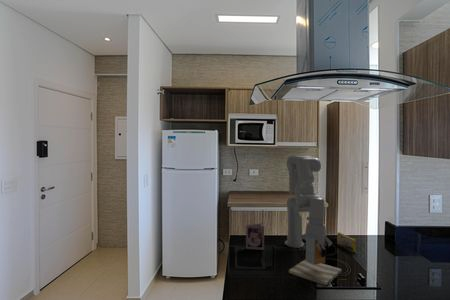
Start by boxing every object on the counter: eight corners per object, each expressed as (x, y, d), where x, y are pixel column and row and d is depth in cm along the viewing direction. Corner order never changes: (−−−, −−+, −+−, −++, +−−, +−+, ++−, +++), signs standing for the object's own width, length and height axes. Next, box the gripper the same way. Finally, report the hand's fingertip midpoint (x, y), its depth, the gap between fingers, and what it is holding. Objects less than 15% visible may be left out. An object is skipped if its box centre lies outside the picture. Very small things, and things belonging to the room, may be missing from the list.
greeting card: (245, 249, 183) (246, 225, 182) (246, 245, 190) (246, 222, 190) (264, 250, 181) (264, 226, 181) (263, 246, 188) (264, 223, 188)
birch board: (305, 261, 165) (305, 258, 165) (341, 272, 152) (341, 269, 152) (288, 272, 150) (288, 270, 150) (326, 285, 136) (326, 282, 136)
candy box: (336, 244, 194) (337, 232, 194) (339, 244, 195) (339, 232, 195) (353, 253, 179) (353, 240, 179) (356, 253, 179) (356, 239, 179)
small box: (314, 265, 146) (314, 239, 145) (305, 260, 151) (305, 236, 151) (325, 262, 150) (326, 237, 149) (316, 258, 155) (317, 234, 155)
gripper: (297, 219, 153) (297, 252, 153) (330, 225, 142) (329, 261, 142) (304, 216, 159) (303, 248, 159) (335, 222, 147) (335, 256, 148)
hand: (315, 254), depth 150 cm, fingers closed on small box, 7 cm apart
